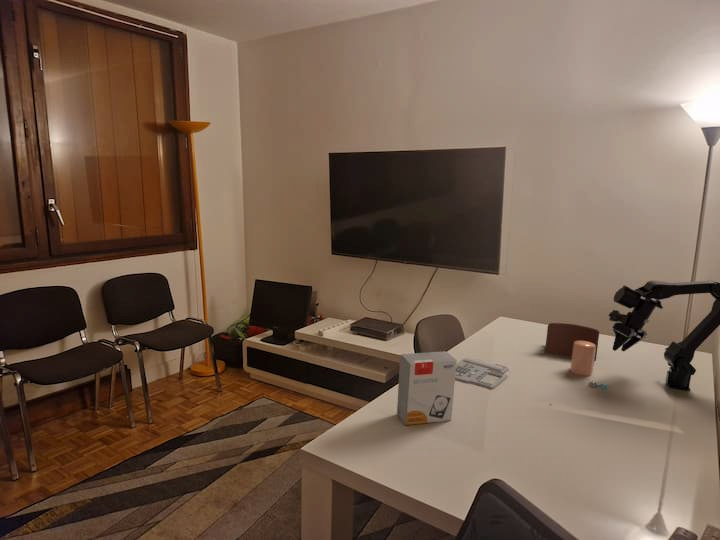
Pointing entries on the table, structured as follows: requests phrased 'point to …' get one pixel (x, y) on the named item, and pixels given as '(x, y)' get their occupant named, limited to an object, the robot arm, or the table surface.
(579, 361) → the faceted domed cylinder
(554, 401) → the table surface
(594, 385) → the graphite marble
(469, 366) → the office telephone
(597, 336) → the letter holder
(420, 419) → the hard drive box
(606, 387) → the teal marble
